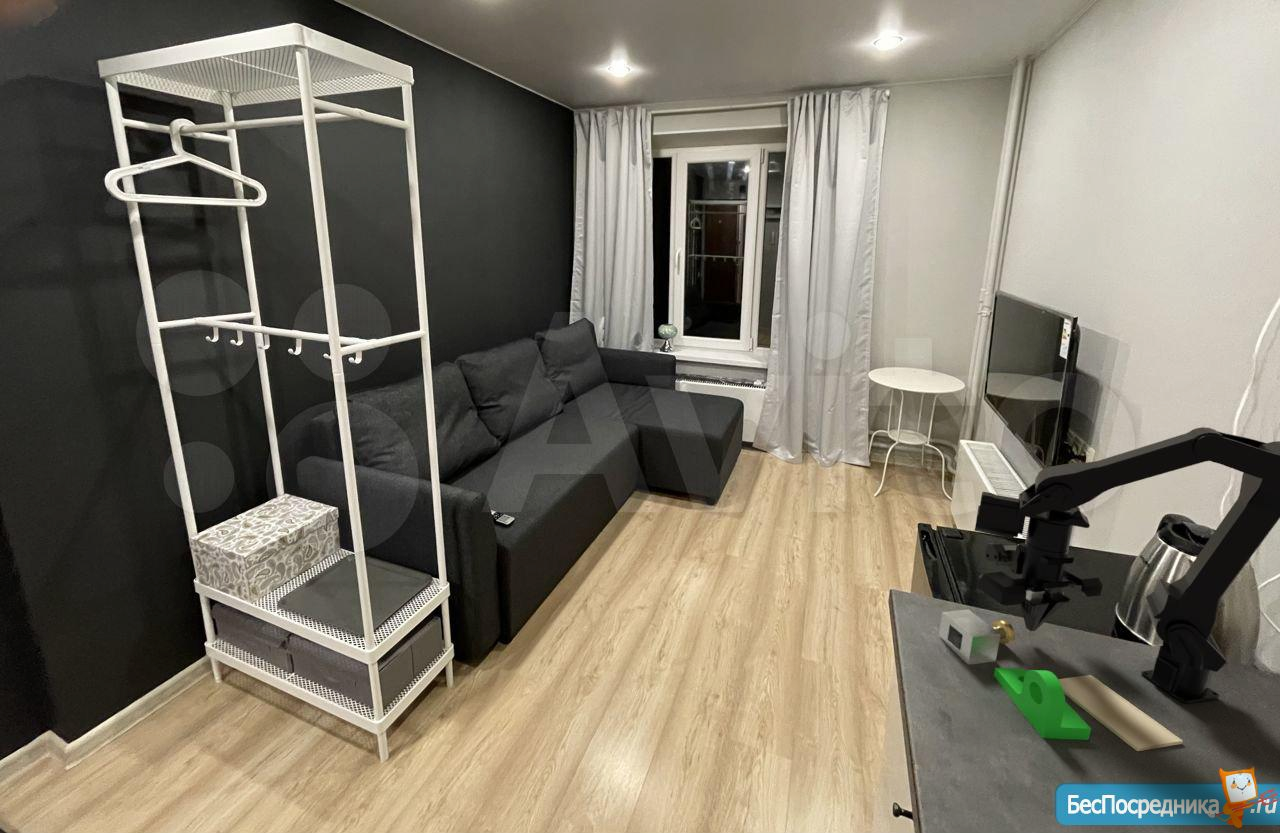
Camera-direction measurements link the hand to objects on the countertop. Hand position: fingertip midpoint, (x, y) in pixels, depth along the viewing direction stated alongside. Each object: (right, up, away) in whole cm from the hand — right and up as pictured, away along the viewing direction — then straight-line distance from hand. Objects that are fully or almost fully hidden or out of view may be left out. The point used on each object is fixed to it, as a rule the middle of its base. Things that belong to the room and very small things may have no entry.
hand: (1030, 629), depth 96 cm
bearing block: (-12, -3, -1) cm, 12 cm away
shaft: (-8, -2, -1) cm, 8 cm away
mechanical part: (-8, -7, -13) cm, 17 cm away
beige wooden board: (+2, -6, -14) cm, 16 cm away
